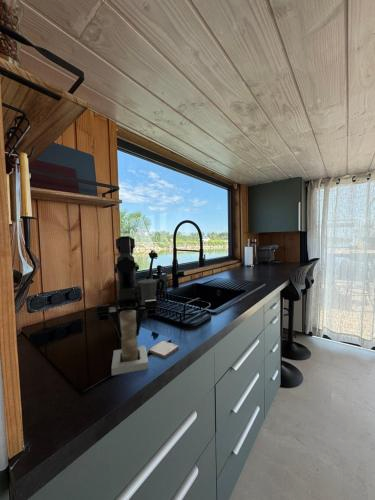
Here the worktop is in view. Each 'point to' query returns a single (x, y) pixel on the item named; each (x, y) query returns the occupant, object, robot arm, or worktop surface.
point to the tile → (163, 349)
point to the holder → (131, 365)
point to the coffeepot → (149, 288)
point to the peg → (128, 335)
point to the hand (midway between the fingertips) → (128, 336)
